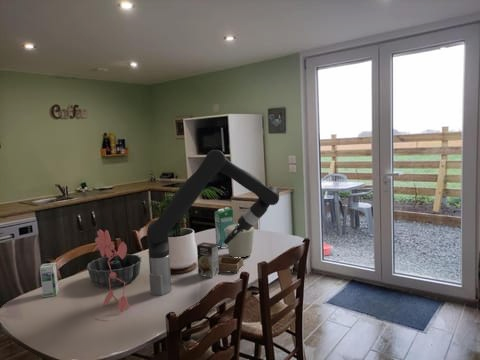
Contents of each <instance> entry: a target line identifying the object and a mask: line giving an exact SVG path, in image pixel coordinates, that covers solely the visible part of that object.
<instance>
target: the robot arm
mask: <svg viewBox="0 0 480 360" xmlns="http://www.w3.org/2000/svg"><path fill="white" fill-rule="evenodd" d="M218 172H219V173H222V174H223V175H225V176H227V177H229V178H230V179H232V180H234V182H236V183H238V185H241V186H242V187H243V188H245V189H246V190H248V191H249V192H250V193H253V194H254V195H255V196H256V197H258V198H257V200H256V201H255V202H254V203H252V205H251V206H250V207H249V208H248V209H247V210H245V212H244V213H242V214H241V216H239V218H238V219H237V221H238V224H239V225H237V226H236V227H235V229H234V230H233V231H231V233H230V234H229V235H228V236H227V238H226V239H225V240H224V243H225V244H228V243H229V242H230V241H231V240H233V239H234V238H235V237H237V236H238V235H239V234H240V233H241V232H243V231H244V230H246V231H248V230H250V229H251V228H252V227H254V225H255V226H256V224H257V223H258V222H259V221H260V219H261V218H262V217H263V216H264V215H265V214H266V212H267V211H268V208H269V207H270V206H275V205H277V204H278V202H279V201H280V191H279V189H278V188H277V187H275V186H271V185H270V186H267V185H266V184H265V183H264V181H263V180H261V179H260V178H258V177H256V176H255V175H253V174H252V173H251V172H248V171H247V170H244V169H243V168H241V167H239V166H238V165H236V164H234V163H233V162H231V161H230V160H229V159H228V158H227V157H226V156H225V154H224V152H223V151H221V150H219V149H213V150H210V151H209V152H207V154H206V156H205V157H204V160H203V161H202V162H201V164H200V165H199V167H198V168H197V170H195V172H194V173H193V174H192V175H190V177H189V178H187V179H186V180H185V182H183V184H182V185H181V186H180V187H179V188H178V189H177V191H176V192H175V193H174V195H173V196H172V197H171V200H170V201H169V203H168V205H167V206H166V208H165V210H164V211H163V212H162V213H161V215H160V216H159V217H158V218H157V219H155V220H153V221H151V222H150V223H149V225H148V226H147V229H146V237H147V240H148V241H147V242H148V244H147V245H148V261H149V263H148V264H149V274H148V277H149V278H148V279H149V291H150V295H154V296H155V295H156V296H163V295H167V294H169V293H170V292H172V276H171V262H170V261H171V260H170V259H171V258H170V243H169V234H170V232H171V231H172V230H173V228H174V227H175V225H176V223H177V222H178V221H179V220H180V219H181V218H182V217H183V216H184V215H185V214H186V212H187V211H188V210H189V209H190V208H191V207H192V206H193V205H194V203H195V202H196V201H197V199H198V198H199V196H200V195H201V194H202V192H203V191H204V189H205V187H206V186H207V184H208V183H209V182H210V180H211V179H212V178H213V177H214V176H215V175H216V174H217V173H218ZM231 234H232V235H231ZM230 235H231V236H230Z"/></svg>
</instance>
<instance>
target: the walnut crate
mask: <svg viewBox="0 0 480 360" xmlns="http://www.w3.org/2000/svg"><path fill="white" fill-rule="evenodd" d="M218 266H219V271H230V272H238V271H239V269H240V268H241V267H242V266H243V267H244V258H233V257H231V256H229V257H227V256H220V257H218ZM239 272H240V271H239ZM239 272H238V273H239Z"/></svg>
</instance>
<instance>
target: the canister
mask: <svg viewBox="0 0 480 360" xmlns="http://www.w3.org/2000/svg"><path fill="white" fill-rule="evenodd" d="M237 225H239V224H238V220H237V221H236V222H235V224H234V223H233V225H230V226H228V227H226V228H225V229H224V231H225V233H226V238H227V236H228V235H229V234H230V233H231V231H233V230H234V229H235V227H236V226H237ZM254 232H255V227H254V226H253V227H252V228H251V229H250V230H248V231H246V230H244V231H243V232H241V233H240V234H239V235H238V236H237V237H235V238H234V239H233V240H231V241H230V242H229V243H228V244H227V246H228V248H227V250H228V254H229V257H231V256H232V257H231V258H233V257H238V258H239V257H246V256H248V257H250V256H251V255H252V253H253V244H254V243H253V242H254ZM231 235H232V234H231ZM231 235H230V236H231ZM250 254H251V255H250ZM249 255H250V256H249ZM246 258H247V257H246Z"/></svg>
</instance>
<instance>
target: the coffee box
mask: <svg viewBox="0 0 480 360" xmlns="http://www.w3.org/2000/svg"><path fill="white" fill-rule="evenodd" d="M196 248H197V249H196V251H197V270H198V271H197V273H198V274H200V275H206V276H211V277H213V276H215V275H216V274H217V273H219V274H220V272H219V266H218V259H219V247H218V244H216V243H211V242H202V243H199V244H197V245H196ZM200 275H199V276H200ZM206 276H205V277H206ZM216 276H217V275H216ZM216 276H215V277H216ZM211 277H210V278H211ZM213 278H214V277H213Z"/></svg>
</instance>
